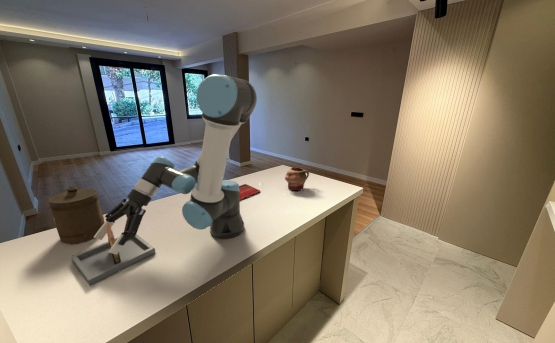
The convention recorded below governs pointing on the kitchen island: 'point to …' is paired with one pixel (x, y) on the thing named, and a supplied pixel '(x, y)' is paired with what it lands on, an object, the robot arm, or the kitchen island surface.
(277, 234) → the kitchen island surface
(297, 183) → the brown ceramic jug
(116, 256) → the ammunition clip
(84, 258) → the tray
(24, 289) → the kitchen island surface
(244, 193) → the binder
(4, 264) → the kitchen island surface
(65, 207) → the wooden container
